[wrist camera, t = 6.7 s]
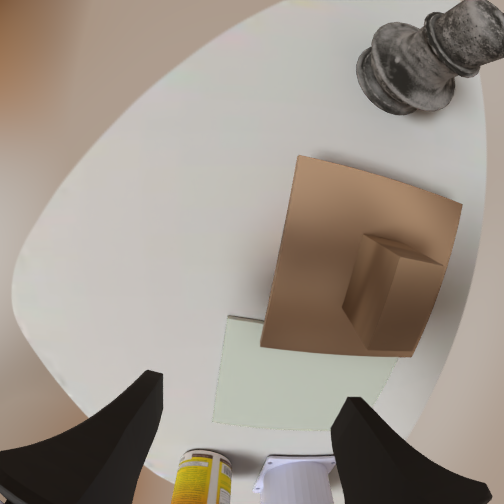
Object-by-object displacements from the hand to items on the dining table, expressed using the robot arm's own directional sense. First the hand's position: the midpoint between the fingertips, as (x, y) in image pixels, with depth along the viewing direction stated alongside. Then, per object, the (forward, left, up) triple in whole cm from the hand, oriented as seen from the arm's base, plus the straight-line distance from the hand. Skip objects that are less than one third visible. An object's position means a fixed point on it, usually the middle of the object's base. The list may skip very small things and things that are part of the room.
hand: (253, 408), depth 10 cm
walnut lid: (+4, -5, -6) cm, 9 cm away
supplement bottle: (-20, +2, -10) cm, 22 cm away
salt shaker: (+17, -6, -10) cm, 20 cm away
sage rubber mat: (-7, -5, -9) cm, 13 cm away
